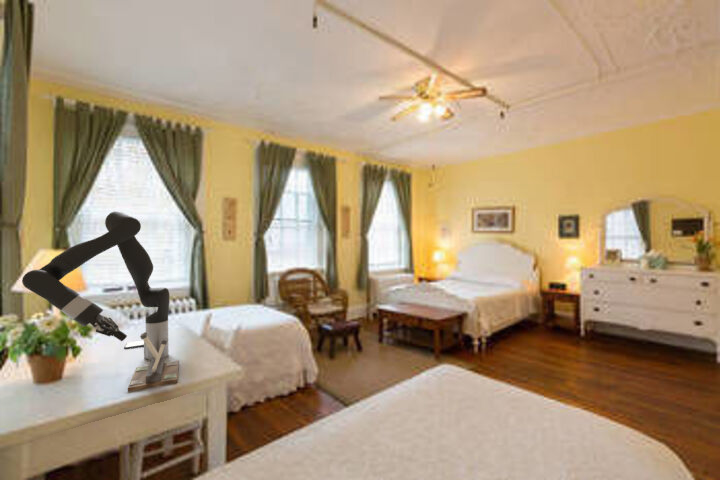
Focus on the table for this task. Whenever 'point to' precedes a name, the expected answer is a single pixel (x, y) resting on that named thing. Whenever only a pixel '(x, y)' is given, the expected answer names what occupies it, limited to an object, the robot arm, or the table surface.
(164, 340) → the lever outer
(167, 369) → the switch board
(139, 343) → the phone case
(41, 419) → the table surface
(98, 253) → the robot arm
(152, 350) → the lever inner
